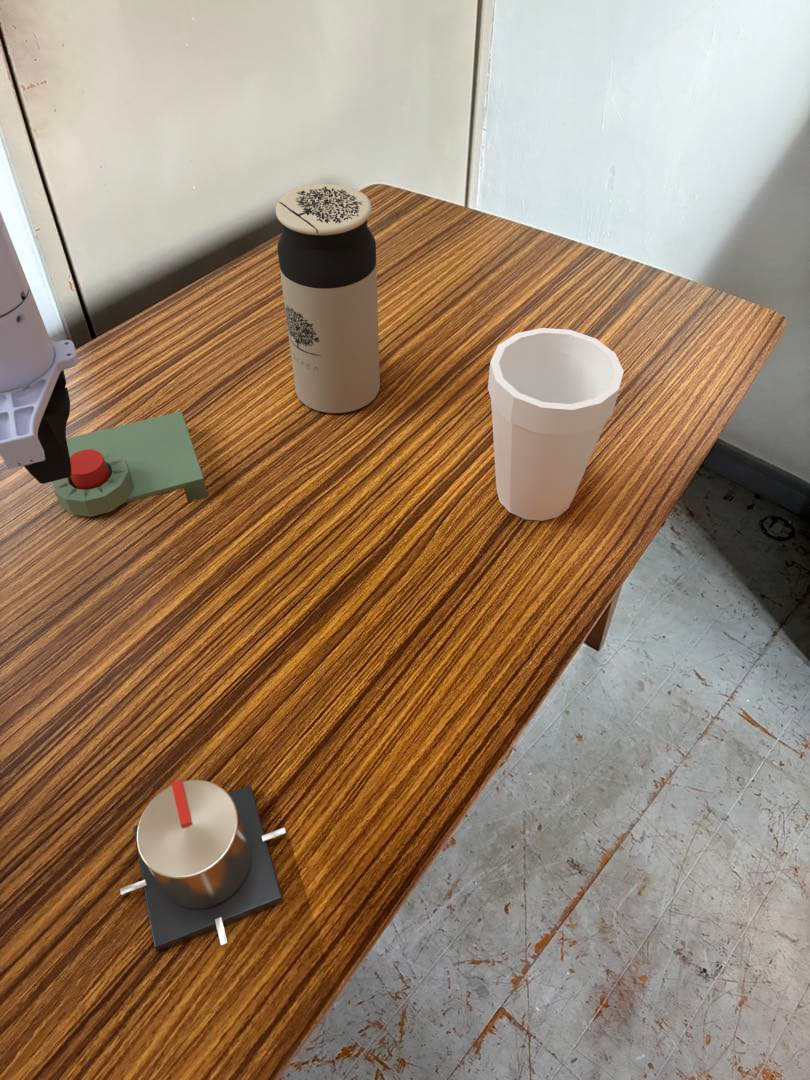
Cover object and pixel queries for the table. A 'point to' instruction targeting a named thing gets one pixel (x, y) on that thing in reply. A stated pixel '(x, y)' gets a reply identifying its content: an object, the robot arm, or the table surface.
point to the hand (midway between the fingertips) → (55, 473)
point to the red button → (88, 469)
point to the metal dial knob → (194, 843)
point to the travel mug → (330, 296)
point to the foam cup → (548, 416)
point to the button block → (135, 465)
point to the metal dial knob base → (250, 898)
